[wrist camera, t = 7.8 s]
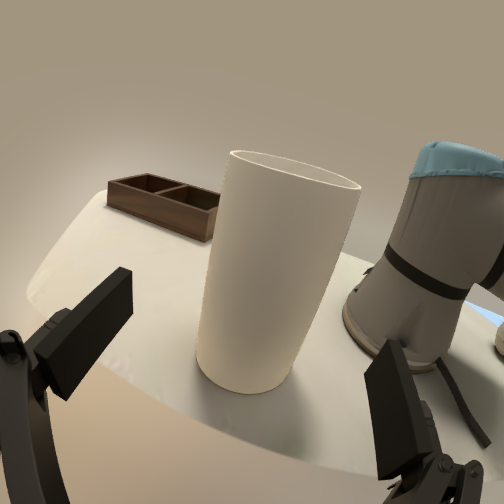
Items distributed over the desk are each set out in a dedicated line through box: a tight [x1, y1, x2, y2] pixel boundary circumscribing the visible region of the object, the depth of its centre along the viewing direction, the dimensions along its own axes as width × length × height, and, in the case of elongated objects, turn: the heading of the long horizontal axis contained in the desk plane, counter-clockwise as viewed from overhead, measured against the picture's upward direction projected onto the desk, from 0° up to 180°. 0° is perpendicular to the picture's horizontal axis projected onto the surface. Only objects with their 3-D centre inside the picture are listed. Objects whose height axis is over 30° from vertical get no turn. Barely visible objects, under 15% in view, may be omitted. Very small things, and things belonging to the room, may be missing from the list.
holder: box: [107, 173, 221, 242], centre depth 47 cm, size 11×22×5 cm, turn 69°
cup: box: [196, 151, 361, 394], centre depth 19 cm, size 8×8×16 cm
